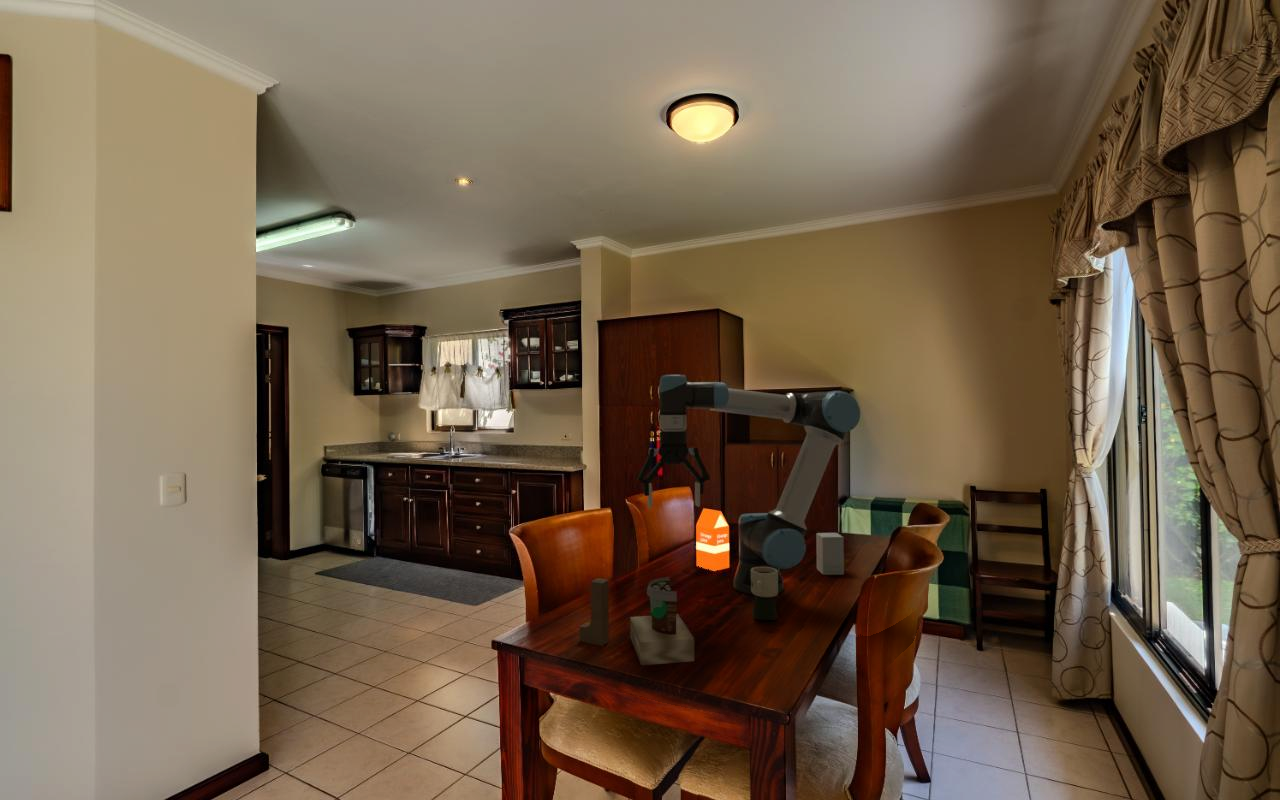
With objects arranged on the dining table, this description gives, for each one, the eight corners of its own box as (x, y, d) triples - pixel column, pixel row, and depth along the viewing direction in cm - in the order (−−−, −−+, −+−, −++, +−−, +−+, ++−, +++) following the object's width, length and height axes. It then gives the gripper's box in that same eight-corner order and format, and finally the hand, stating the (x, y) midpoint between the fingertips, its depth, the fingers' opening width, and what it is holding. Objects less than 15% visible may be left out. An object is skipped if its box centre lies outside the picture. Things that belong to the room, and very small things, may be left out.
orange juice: (711, 562, 217) (710, 506, 217) (729, 567, 210) (729, 510, 210) (696, 566, 212) (695, 509, 212) (714, 571, 205) (713, 512, 205)
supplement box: (844, 575, 200) (844, 537, 200) (822, 575, 200) (821, 537, 200) (837, 569, 207) (837, 532, 207) (816, 569, 207) (815, 532, 207)
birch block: (678, 634, 150) (677, 613, 150) (694, 661, 134) (694, 638, 134) (630, 637, 148) (630, 617, 148) (641, 665, 132) (641, 642, 132)
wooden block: (609, 641, 145) (608, 579, 145) (602, 646, 142) (602, 583, 142) (586, 637, 148) (585, 576, 148) (579, 641, 145) (578, 579, 145)
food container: (644, 618, 147) (644, 577, 147) (669, 617, 147) (669, 576, 147) (649, 638, 134) (649, 593, 134) (677, 636, 135) (676, 592, 135)
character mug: (758, 610, 166) (757, 563, 166) (783, 614, 163) (783, 566, 163) (745, 623, 156) (744, 573, 157) (771, 628, 153) (771, 576, 153)
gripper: (630, 431, 161) (631, 510, 161) (720, 430, 165) (721, 507, 165) (626, 430, 169) (627, 506, 169) (712, 429, 173) (713, 502, 173)
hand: (673, 506), depth 167 cm, fingers open, 13 cm apart
